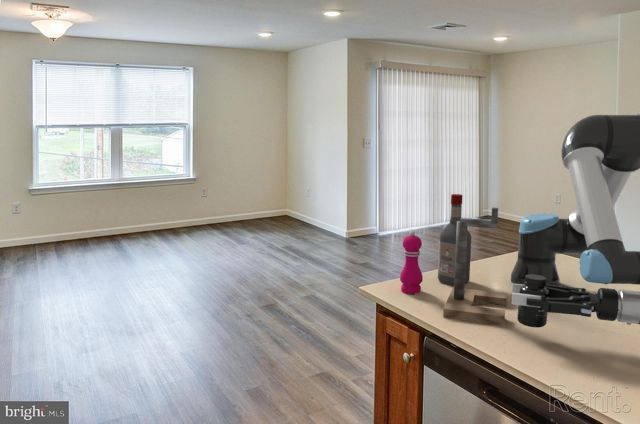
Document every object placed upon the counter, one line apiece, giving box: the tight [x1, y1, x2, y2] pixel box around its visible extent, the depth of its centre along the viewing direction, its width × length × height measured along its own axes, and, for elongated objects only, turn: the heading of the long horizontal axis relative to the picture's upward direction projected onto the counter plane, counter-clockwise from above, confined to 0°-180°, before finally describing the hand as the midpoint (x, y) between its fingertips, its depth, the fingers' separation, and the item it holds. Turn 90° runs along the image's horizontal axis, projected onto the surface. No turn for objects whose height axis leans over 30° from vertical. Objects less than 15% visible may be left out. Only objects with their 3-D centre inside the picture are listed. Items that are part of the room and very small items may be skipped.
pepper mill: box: [399, 230, 424, 295], centre depth 161 cm, size 7×7×20 cm
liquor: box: [437, 193, 472, 287], centre depth 170 cm, size 9×9×30 cm
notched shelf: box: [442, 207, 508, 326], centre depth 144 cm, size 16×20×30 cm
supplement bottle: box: [517, 274, 549, 328], centre depth 125 cm, size 7×7×12 cm
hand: (512, 293), depth 126 cm, fingers closed on supplement bottle, 7 cm apart
